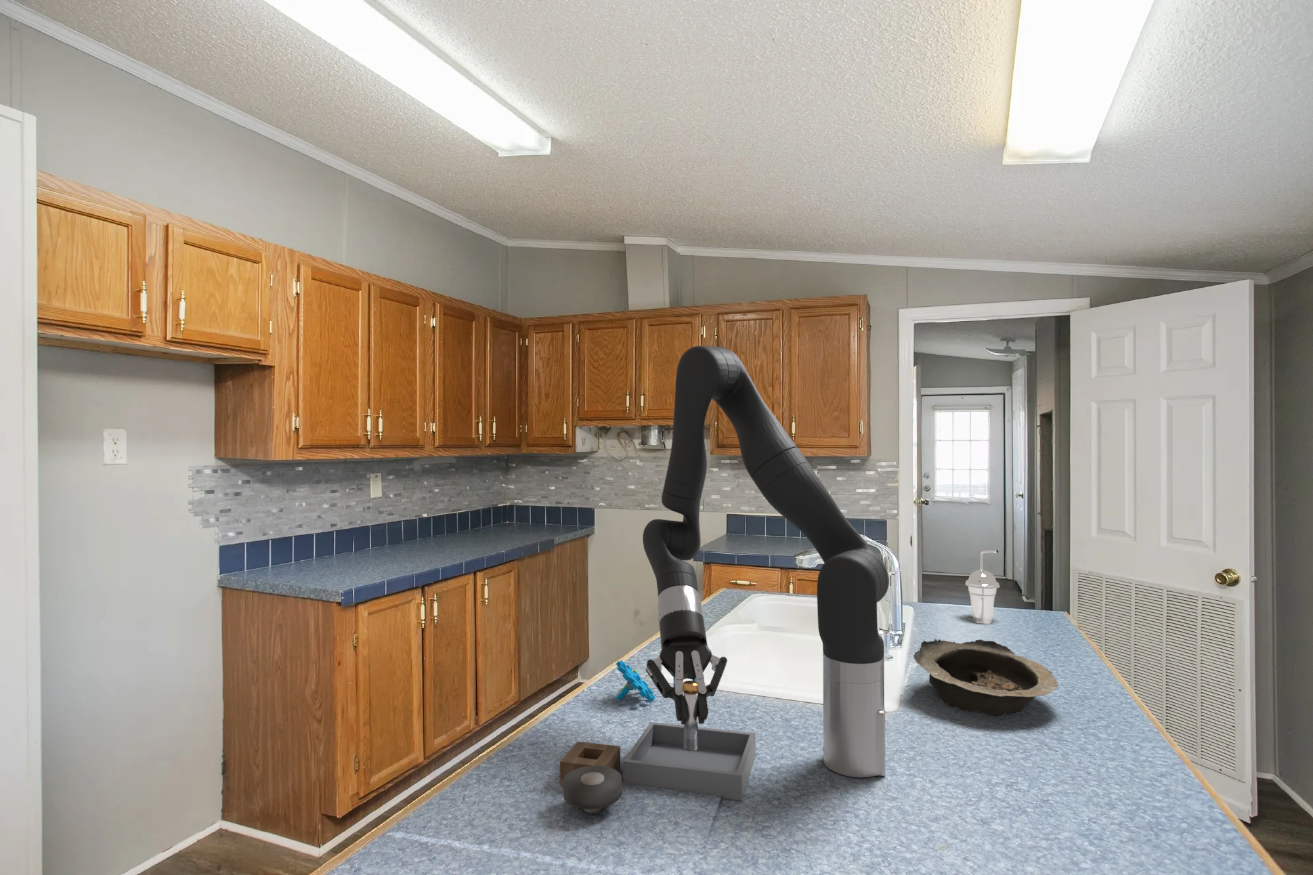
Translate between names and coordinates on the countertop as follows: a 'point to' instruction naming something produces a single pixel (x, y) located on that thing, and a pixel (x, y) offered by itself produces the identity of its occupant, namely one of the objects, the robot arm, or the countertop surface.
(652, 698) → the gear
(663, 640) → the robot arm
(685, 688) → the lock pin
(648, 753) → the tray
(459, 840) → the countertop surface
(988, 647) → the stone bowl
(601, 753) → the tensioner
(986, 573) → the cup with straw
